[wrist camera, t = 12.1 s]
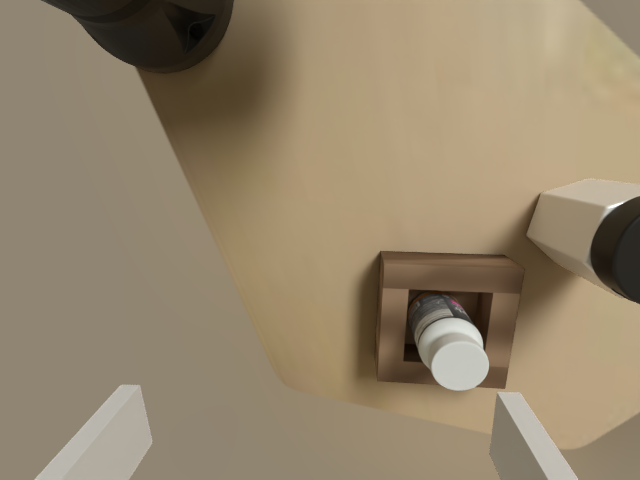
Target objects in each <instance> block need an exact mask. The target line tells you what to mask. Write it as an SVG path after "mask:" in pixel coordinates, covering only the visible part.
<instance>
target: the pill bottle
mask: <svg viewBox="0 0 640 480" xmlns="http://www.w3.org/2000/svg"><path fill="white" fill-rule="evenodd" d="M408 321H409V325H410V328H411V330H412V333H413V336H414V340H415V343H416V346H417V350H418V352H419V355H420V357H421V359H422V361H423V363H424V364H425V365H426V366H427V367H428V368H429V369H430V370H431V373H432V375H433V377H434V378H435V380H436V381H437V382H438V383H439V384H440V385H442V386H443V387H445V388H447V389H450V390H455V391H463V390H468V389H471V388H474V387H476V386H477V385H479V384H480V383H481V382H482V381H483V380H484V379H485V377H486V376H487V373H488V370H489V361H488V357H487V355H486V353H485V351H484V350H483V340H482V337H481V334H480V332H479V331H478V329H477V328H476V326H475V325H474V324H473V322H472V321H471V320H470V318H469V317H468V315H467V314H466V312H465V311H464V309H463V308H462V307H461V305H460V304H459V303H458V301H457V300H456V299H455V298H454V297H453V296H452V295H450V294H448V293H446V292H443V291H434V290H433V291H428V292H425V293H422V294H421V295H419V296H418V297H416V298H415V299H414V300H413V302H412V303H411V305H410V307H409V310H408Z"/></svg>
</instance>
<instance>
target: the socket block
mask: <svg viewBox="0 0 640 480" xmlns="http://www.w3.org/2000/svg"><path fill="white" fill-rule="evenodd" d="M524 271H525V269H524V268H522V267H521V266H520V265H518V264H517V263H515V262H514V261H512V260H511V259H509V258H508V257H506V256H505V255H483V254H453V253H423V252H393V251H380V268H379V286H378V304H377V322H376V340H375V365H376V373H377V381H386V382H403V383H419V384H435V385H440V384H439V383H438V382H437V381H436V380H435V378H434V377H433V375H432V373H431V370H430V369H429V368H428V367H427V366H426V365H425V364H424V363H423V361H422V359H421V357H420V355H419V352H418V350H417V346H416V343H415V340H414V336H413V333H412V330H411V328H410V325H409V321H408V310H409V307H410V305H411V303H412V302H413V300H414V299H415V298H416V297H418V296H419V295H421V294H422V293H425V292H428V291H433V290H434V291H443V292H446V293H448V294H450V295H452V296H453V297H454V298H455V299H456V300H457V301H458V303H459V304H460V305H461V307H462V308H463V309H464V311H465V312H466V314H467V315H468V317H469V318H470V320H471V321H472V322H473V324H474V325H475V326H476V328H477V329H478V331H479V332H480V334H481V337H482V340H483V350H484V351H485V353H486V355H487V357H488V361H489V370H488V373H487V376H486V377H485V379H484V380H483V381H482V382H481V383H480V384H479V385H477V386H476V387H484V388H500V389H505V386H506V380H507V374H508V368H509V361H510V355H511V349H512V343H513V337H514V331H515V325H516V319H517V313H518V307H519V301H520V295H521V289H522V283H523V277H524Z"/></svg>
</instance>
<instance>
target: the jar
mask: <svg viewBox="0 0 640 480" xmlns="http://www.w3.org/2000/svg"><path fill="white" fill-rule="evenodd" d="M526 235H527V237H528V238H529V239H530V240H531V241H532V242H533V243H535V244H536V245H537V246H538V247H539V248H540V249H541V250H542V251H543V252H544V253H545V254H546V255H547V256H548V257H550V258H551V259H552V260H553V261H554V262H555V263H556V264H558V265H560V266H562V267H564V268H566V269H567V270H569V271H571V272H573V273H575V274H577V275H578V276H580V277H582V278H584V279H586V280H588V281H590V282H591V283H593V284H595V285H597V286H599V287H601V288H602V289H604V290H606V291H608V292H610V293H612V294H614V295H615V296H617V297H619V298H626V299H628V300H631V301H633V302H636V303H638V304H640V184H636V183H627V182H618V181H609V180H600V179H591V178H587V179H584V180H581V181H578V182H574V183H571V184H568V185H565V186H561V187H558V188H555V189H552V190H548V191H545V192H542V193H541V195H540V197H539V200H538V203H537V206H536V209H535V211H534V214H533V217H532V220H531V223H530V226H529V228H528V231H527V234H526Z"/></svg>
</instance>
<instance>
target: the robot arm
mask: <svg viewBox="0 0 640 480" xmlns="http://www.w3.org/2000/svg"><path fill="white" fill-rule="evenodd" d="M42 1H44V2H46V3H48V4H50V5H52V6H54V7H56V8H59V9H61V10H63V11H65V12H67V13H69V14H71V15H72V16H73V17H74V18H75V19H76V20H77V21H78V22H79V23H80V24H81V25H82V26H83V27H84V28H85V30H86V31H87V32H88V34H90V36H91V37H92V38H93V39H94V40H95V41H96V42H97V43H98V44H99V45H100V46H101V47H102V48H103V49H105V50H106V51H107V52H109V53H110V54H112V55H113V56H115V57H116V58H118V59H120V60H122V61H124V62H126V63H128V64H131V65H133V66H136V67H138V68H141V69H144V70H147V71H151V72H158V73H170V72H177V71H181V70H184V69H187V68H189V67H192V66H193V65H195V64H197V63H199V62H200V61H202V60H203V59H204V58H205V57H206V56H208V55H209V54H210V53H211V52H212V51H213V49H214V48H215V47H216V46H217V44H218V43H219V41H220V40H221V38H222V36H223V35H224V33H225V31H226V28H227V26H228V23H229V20H230V17H231V13H232V8H233V2H234V0H42ZM152 443H153V442H152V437H151V433H150V428H149V424H148V419H147V415H146V410H145V406H144V401H143V397H142V392H141V388H140V385H120V386H119V387H118V389H117V390H116V391H115V392H114V393H113V394H112V395H111V396H110V397H109V398H108V400H107V401H106V402H105V403H104V404H103V405H102V406H101V407H100V408H99V409H98V410H97V412H96V413H95V414H94V415H93V416H92V417H91V418H90V419H89V420H88V422H87V423H86V424H85V425H84V426H83V427H82V428H81V429H80V430H79V432H78V433H77V434H76V435H75V436H74V437H73V438H72V439H71V440H70V441H69V442H68V443H67V444H66V446H65V447H64V448H63V449H62V450H61V451H60V452H59V453H58V454H57V455H56V457H55V458H54V459H53V460H52V461H51V462H50V463H49V464H48V465H47V466H46V468H45V469H44V470H43V471H42V472H41V473H40V474H39V475H38V476H37V477H36V479H35V480H129V479H130V477H131V475H132V474H133V472H134V471H135V469H136V468H137V466H138V465H139V463H140V461H141V460H142V458H143V457H144V455H145V454H146V452H147V450H148V449H149V447H150V446H151V444H152ZM489 454H490V456H491V459H492V461H493V463H494V465H495V467H496V470H497V472H498V474H499V476H500V479H501V480H578V478H577V477H576V475H575V474H574V472H573V471H572V469H571V468H570V466H569V465H568V463H567V462H566V460H565V459H564V457H563V456H562V454H561V453H560V451H559V450H558V448H557V447H556V445H555V444H554V442H553V441H552V439H551V438H550V437H549V435H548V434H547V432H546V431H545V429H544V428H543V426H542V425H541V423H540V422H539V420H538V419H537V417H536V416H535V414H534V413H533V411H532V410H531V408H530V407H529V405H528V404H527V402H526V401H525V399H524V398H523V396H522V395H521V393H517V392H497V397H496V405H495V413H494V421H493V429H492V437H491V445H490V453H489Z"/></svg>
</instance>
